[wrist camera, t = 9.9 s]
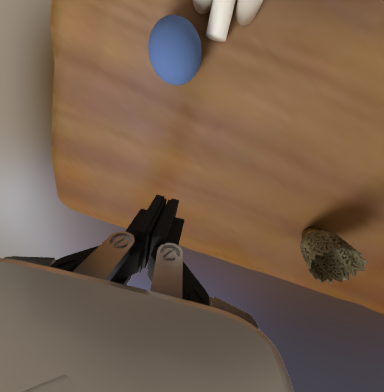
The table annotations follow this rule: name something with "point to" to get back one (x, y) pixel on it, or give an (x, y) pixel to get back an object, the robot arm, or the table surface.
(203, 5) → the pin
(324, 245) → the cup
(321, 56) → the table surface
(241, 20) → the pin
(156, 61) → the ball
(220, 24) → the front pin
